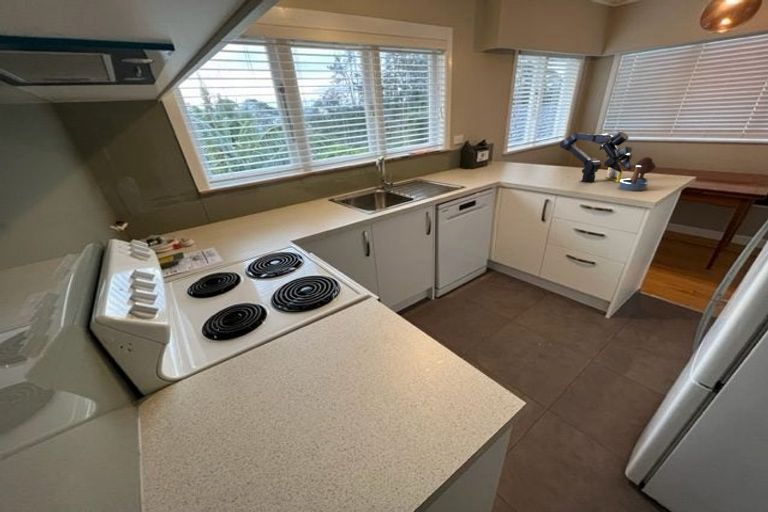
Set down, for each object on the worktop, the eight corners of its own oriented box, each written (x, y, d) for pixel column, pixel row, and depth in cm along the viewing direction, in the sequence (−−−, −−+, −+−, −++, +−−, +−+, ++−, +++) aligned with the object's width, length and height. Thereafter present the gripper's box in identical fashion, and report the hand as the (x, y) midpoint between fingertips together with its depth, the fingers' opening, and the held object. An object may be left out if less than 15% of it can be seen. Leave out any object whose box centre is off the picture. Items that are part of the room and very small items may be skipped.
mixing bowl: (613, 188, 186) (615, 181, 184) (626, 185, 191) (628, 178, 189) (638, 192, 175) (640, 185, 173) (650, 188, 180) (653, 181, 178)
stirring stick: (627, 188, 183) (633, 166, 177) (627, 186, 186) (633, 165, 180) (636, 188, 180) (643, 166, 175) (636, 187, 183) (643, 165, 178)
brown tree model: (655, 180, 195) (663, 157, 188) (638, 182, 195) (644, 158, 189) (643, 177, 204) (650, 154, 197) (626, 178, 205) (632, 156, 198)
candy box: (605, 177, 213) (608, 165, 209) (609, 177, 213) (612, 165, 209) (616, 182, 199) (619, 169, 195) (620, 182, 198) (623, 169, 195)
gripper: (614, 143, 178) (629, 164, 174) (633, 140, 184) (648, 160, 180) (597, 156, 188) (611, 176, 184) (616, 152, 194) (630, 171, 190)
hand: (625, 170), depth 184 cm, fingers open, 9 cm apart
